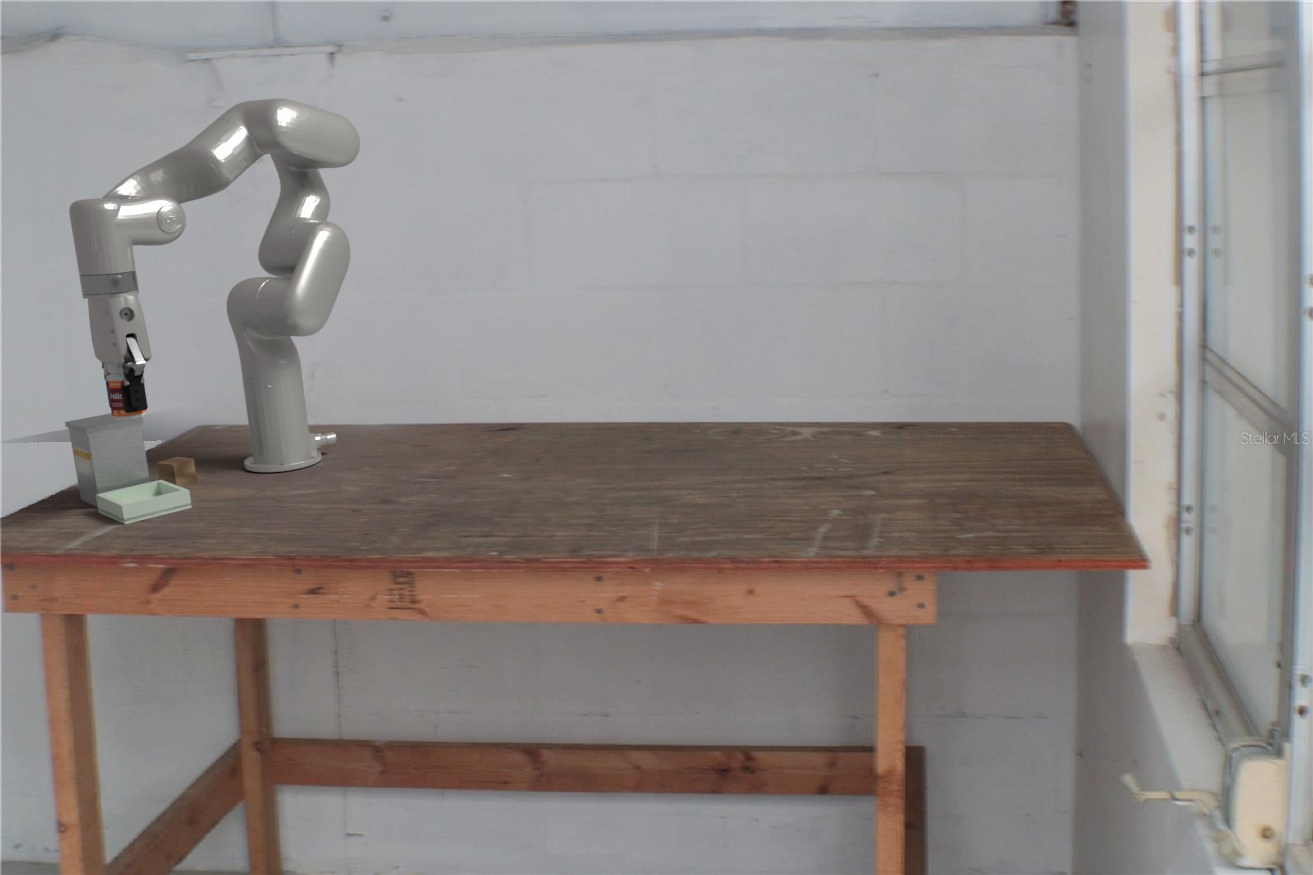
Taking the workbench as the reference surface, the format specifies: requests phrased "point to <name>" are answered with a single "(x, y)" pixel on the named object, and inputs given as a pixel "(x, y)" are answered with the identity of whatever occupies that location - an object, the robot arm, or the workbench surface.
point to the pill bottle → (118, 394)
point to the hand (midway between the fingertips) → (128, 407)
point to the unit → (107, 454)
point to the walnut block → (177, 471)
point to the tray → (143, 501)
